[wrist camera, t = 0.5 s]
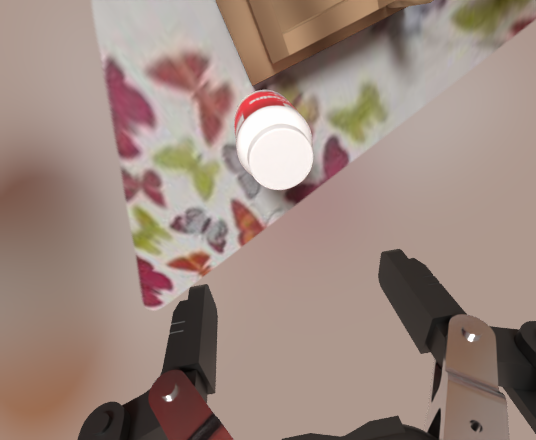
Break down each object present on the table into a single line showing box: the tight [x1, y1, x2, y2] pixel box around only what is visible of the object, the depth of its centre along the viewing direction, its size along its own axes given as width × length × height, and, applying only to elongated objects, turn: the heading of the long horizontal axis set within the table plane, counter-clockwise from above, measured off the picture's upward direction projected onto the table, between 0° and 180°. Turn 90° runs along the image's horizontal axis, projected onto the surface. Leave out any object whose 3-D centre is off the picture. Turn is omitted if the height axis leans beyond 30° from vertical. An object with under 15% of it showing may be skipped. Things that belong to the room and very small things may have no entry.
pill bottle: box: [235, 90, 313, 190], centre depth 24 cm, size 6×6×11 cm
